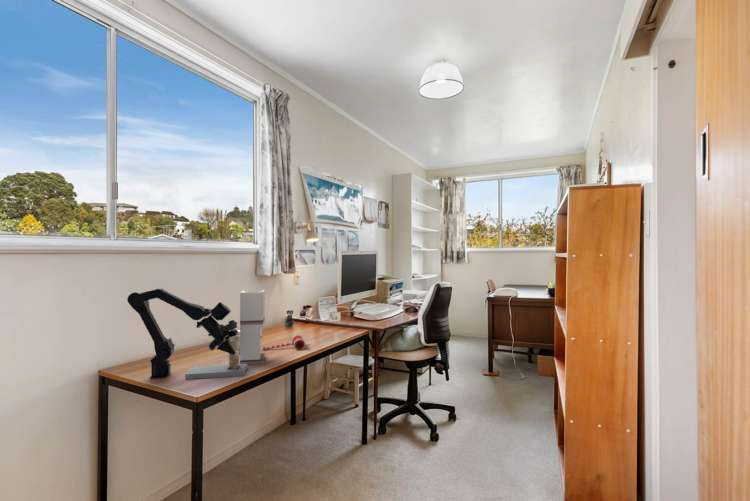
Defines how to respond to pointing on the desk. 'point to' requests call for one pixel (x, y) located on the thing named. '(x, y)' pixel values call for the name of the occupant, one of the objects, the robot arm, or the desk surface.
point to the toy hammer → (296, 341)
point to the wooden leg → (235, 358)
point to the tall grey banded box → (251, 326)
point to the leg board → (215, 371)
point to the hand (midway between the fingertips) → (236, 352)
